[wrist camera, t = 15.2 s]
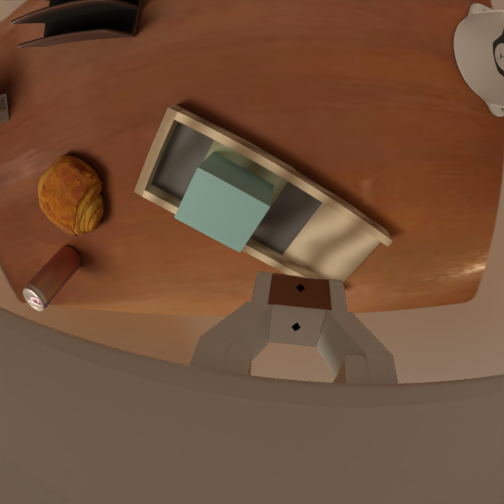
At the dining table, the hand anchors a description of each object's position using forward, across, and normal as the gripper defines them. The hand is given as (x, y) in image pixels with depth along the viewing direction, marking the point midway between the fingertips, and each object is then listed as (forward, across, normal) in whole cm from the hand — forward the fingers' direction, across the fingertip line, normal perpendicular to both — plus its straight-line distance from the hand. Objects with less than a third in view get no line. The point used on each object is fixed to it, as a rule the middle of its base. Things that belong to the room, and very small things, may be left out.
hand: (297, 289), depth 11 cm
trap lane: (+33, +4, +12) cm, 35 cm away
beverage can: (+32, +45, +27) cm, 62 cm away
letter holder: (+33, +33, -21) cm, 51 cm away
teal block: (+32, +9, +10) cm, 35 cm away
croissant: (+33, +38, +11) cm, 52 cm away
